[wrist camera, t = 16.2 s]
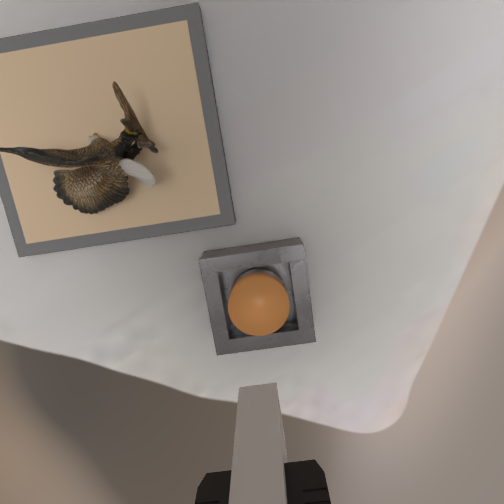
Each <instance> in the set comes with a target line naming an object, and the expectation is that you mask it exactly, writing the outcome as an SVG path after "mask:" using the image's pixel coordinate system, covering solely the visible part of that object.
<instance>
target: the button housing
mask: <svg viewBox="0 0 504 504" xmlns="http://www.w3.org/2000/svg"><path fill="white" fill-rule="evenodd" d="M199 264H200V269H201V274H202V279H203V285H204V290H205V295H206V300H207V306H208V311H209V316H210V321H211V327H212V332H213V337H214V342H215V348H216V353H217V355H223V354H230V353H238V352H245V351H252V350H260V349H267V348H274V347H282V346H289V345H296V344H304V343H311V342H316V339H315V331H314V323H313V315H312V308H311V300H310V292H309V284H308V276H307V268H306V261H305V253H304V245H303V243H302V241H301V240H300V238H299V237H298V238H291V239H285V240H278V241H271V242H265V243H258V244H251V245H245V246H238V247H231V248H224V249H218V250H211V251H204V253H203V254H202V256H201V257H200V259H199ZM253 269H264V270H268V271H271V272H273V273H274V274H276V275H277V276H278V277H279V278H280V279H281V280H282V281H283V283H284V285H285V288H286V291H287V295H288V299H289V305H290V309H289V315H288V317H287V320H286V321H285V323H284V324H283V325H282V327H281V328H279V329H278V330H277V331H275V332H273V333H271V334H269V335H265V336H253V335H249V334H246V333H244V332H242V331H241V330H239V329H238V328H237V327H236V326H235V325H234V324H233V322H232V320H231V319H230V316H229V312H228V301H229V297H230V292H231V288H232V286H233V283H234V282H235V280H236V279H237V278H238V277H239V276H240V275H241V274H243V273H245V272H247V271H249V270H253Z"/></svg>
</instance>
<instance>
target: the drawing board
mask: <svg viewBox="0 0 504 504" xmlns="http://www.w3.org/2000/svg"><path fill="white" fill-rule="evenodd" d="M114 81H115V82H116V83H117V84H118V86H119V87H120V89H121V90H122V92H123V94H124V96H125V97H126V99H127V101H128V102H129V104H130V106H131V108H132V109H133V111H134V113H135V115H136V117H137V119H138V121H139V123H140V125H141V126H142V128H143V129H144V131H145V133H146V135H147V137H148V138H149V140H151V141H153V142H154V143H155V147H156V148H157V149H158V153H153V152H151V151H150V149H149V148H147V147H142V150H141V151H140V154H138V155H137V156H136V157H135V158H134V160H135V161H137V162H139V163H141V164H142V165H143V166H145V167H147V168H148V169H149V170H150V171H152V172H153V174H154V177H155V178H156V182H157V184H156V185H154V186H152V187H148V186H146V185H144V184H143V183H142V182H141V181H139V180H137V179H136V178H134V177H131V176H128V180H127V182H128V184H129V185H128V188H129V189H130V191H129V195H127V196H126V198H125V199H124V200H123V201H122V202H119V203H118V204H114V205H113V206H110V207H108V208H105V210H103V211H99V212H98V213H97V214H95V213H94V214H89V213H88V214H85V213H81V212H80V211H79V210H74V209H73V206H72V205H65V204H64V203H63V200H62V199H59V198H58V197H57V196H56V194H57V192H55V191H54V190H53V187H54V186H55V183H54V182H53V178H54V177H55V175H54V171H55V170H75V169H78V168H81V167H78V168H76V167H73V168H65V167H63V168H60V167H53V166H47V165H43V164H39V163H36V162H33V161H30V160H27V159H25V158H23V157H21V156H19V155H16V154H12V153H6V152H0V195H1V198H2V202H3V205H4V209H5V212H6V215H7V219H8V222H9V225H10V229H11V232H12V236H13V239H14V242H15V246H16V249H17V252H18V256H19V257H24V256H31V255H37V254H44V253H51V252H57V251H64V250H70V249H77V248H83V247H90V246H97V245H103V244H110V243H116V242H123V241H129V240H136V239H142V238H149V237H156V236H162V235H169V234H175V233H182V232H188V231H195V230H202V229H208V228H215V227H221V226H228V225H234V224H235V223H236V222H235V216H234V210H233V203H232V197H231V191H230V185H229V179H228V173H227V167H226V161H225V155H224V149H223V143H222V137H221V131H220V125H219V119H218V113H217V107H216V101H215V94H214V88H213V82H212V76H211V70H210V64H209V58H208V52H207V46H206V40H205V34H204V28H203V22H202V16H201V10H200V6H199V3H193V4H187V5H182V6H176V7H171V8H165V9H160V10H154V11H149V12H143V13H138V14H132V15H127V16H121V17H116V18H110V19H105V20H99V21H94V22H88V23H83V24H77V25H72V26H66V27H61V28H55V29H50V30H44V31H39V32H33V33H28V34H22V35H17V36H11V37H6V38H0V148H1V147H3V148H14V147H29V148H37V149H64V150H71V149H79V148H83V147H87V146H88V145H90V143H89V140H88V137H89V136H92V135H93V134H94V133H97V136H98V137H100V138H104V139H106V140H107V141H109V142H112V141H114V140H116V139H118V138H119V136H120V133H121V132H122V131H123V130H124V129H125V126H124V125H123V124H122V123H121V122H120V120H121V119H124V118H125V115H124V111H123V109H122V108H121V106H120V104H119V101H118V100H117V98H116V96H115V93H114V89H113V86H112V84H113V82H114ZM134 143H135V141H134V142H132V145H133V144H134Z"/></svg>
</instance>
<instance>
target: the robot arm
mask: <svg viewBox="0 0 504 504" xmlns="http://www.w3.org/2000/svg"><path fill="white" fill-rule="evenodd" d="M286 454H287V453H286V444H285V436H284V429H283V423H282V418H281V410H280V404H279V398H278V391H277V385H276V383H270V384H262V385H254V386H247V387H239V395H238V407H237V417H236V429H235V439H234V451H233V462H232V470H230V471H221V472H213V473H207V474H206V475H205V477H204V478H203V480H202V482H201V483H200V485H199V486H198V489H197V494H196V500H195V504H331V502H330V497H329V492H328V487H327V483H326V478H325V473H324V471H323V470H322V468H321V467H320V466H319V464H318V463H317V462H316V460H307V461H299V462H290V463H287V455H286Z"/></svg>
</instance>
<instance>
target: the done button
mask: <svg viewBox="0 0 504 504" xmlns="http://www.w3.org/2000/svg"><path fill="white" fill-rule="evenodd" d="M289 309H290V305H289V299H288V295H287V291H286V288H285V285H284V283H283V281H282V280H281V279H280V278H279V277H278V276H277V275H276V274H274V273H273V272H271V271H268V270H264V269H253V270H249V271H247V272H245V273H243V274H241V275H240V276H239V277H238V278H237V279H236V280H235V282H234V283H233V286H232V288H231V292H230V297H229V301H228V312H229V316H230V319H231V320H232V322H233V324H234V325H235V326H236V327H237V328H238V329H239V330H241V331H242V332H244V333H246V334H249V335H253V336H265V335H269V334H271V333H273V332H275V331H277V330H278V329H279V328H281V327H282V325H283V324H284V323H285V321H286V320H287V317H288V315H289Z"/></svg>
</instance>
